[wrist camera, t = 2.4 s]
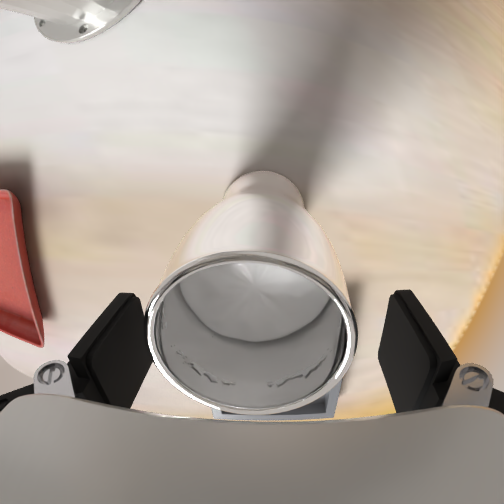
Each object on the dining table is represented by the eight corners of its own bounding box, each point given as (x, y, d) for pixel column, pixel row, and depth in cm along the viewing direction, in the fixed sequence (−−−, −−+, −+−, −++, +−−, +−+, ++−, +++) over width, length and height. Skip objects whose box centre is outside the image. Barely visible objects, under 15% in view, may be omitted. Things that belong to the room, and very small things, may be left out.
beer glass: (201, 183, 22) (96, 285, 8) (292, 151, 21) (337, 205, 7) (235, 265, 24) (197, 427, 11) (321, 238, 23) (375, 393, 9)
